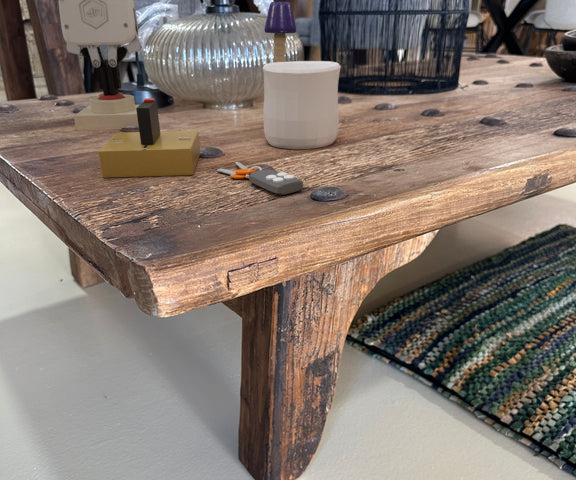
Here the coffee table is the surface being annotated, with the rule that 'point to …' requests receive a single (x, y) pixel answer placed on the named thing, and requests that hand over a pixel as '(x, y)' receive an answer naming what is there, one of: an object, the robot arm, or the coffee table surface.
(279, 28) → the toy lamp
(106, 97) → the release button
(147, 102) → the lock turn
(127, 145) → the plate
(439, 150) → the coffee table surface
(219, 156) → the coffee table surface
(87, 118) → the box
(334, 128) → the cup
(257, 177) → the key chain
